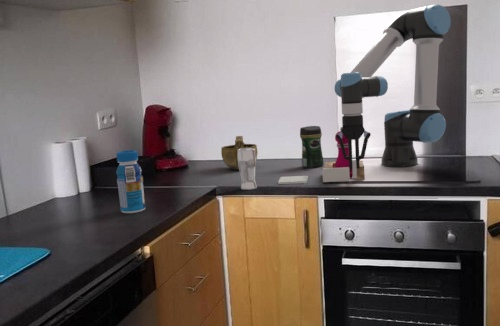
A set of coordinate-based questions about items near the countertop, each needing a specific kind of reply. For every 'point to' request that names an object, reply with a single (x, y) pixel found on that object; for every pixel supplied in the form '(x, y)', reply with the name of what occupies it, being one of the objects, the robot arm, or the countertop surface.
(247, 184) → the beer glass
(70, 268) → the countertop surface
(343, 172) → the white rectangular block
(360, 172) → the block
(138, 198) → the beverage bottle
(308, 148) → the coffee jar
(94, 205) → the countertop surface
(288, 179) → the plate
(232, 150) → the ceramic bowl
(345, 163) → the pepper mill
